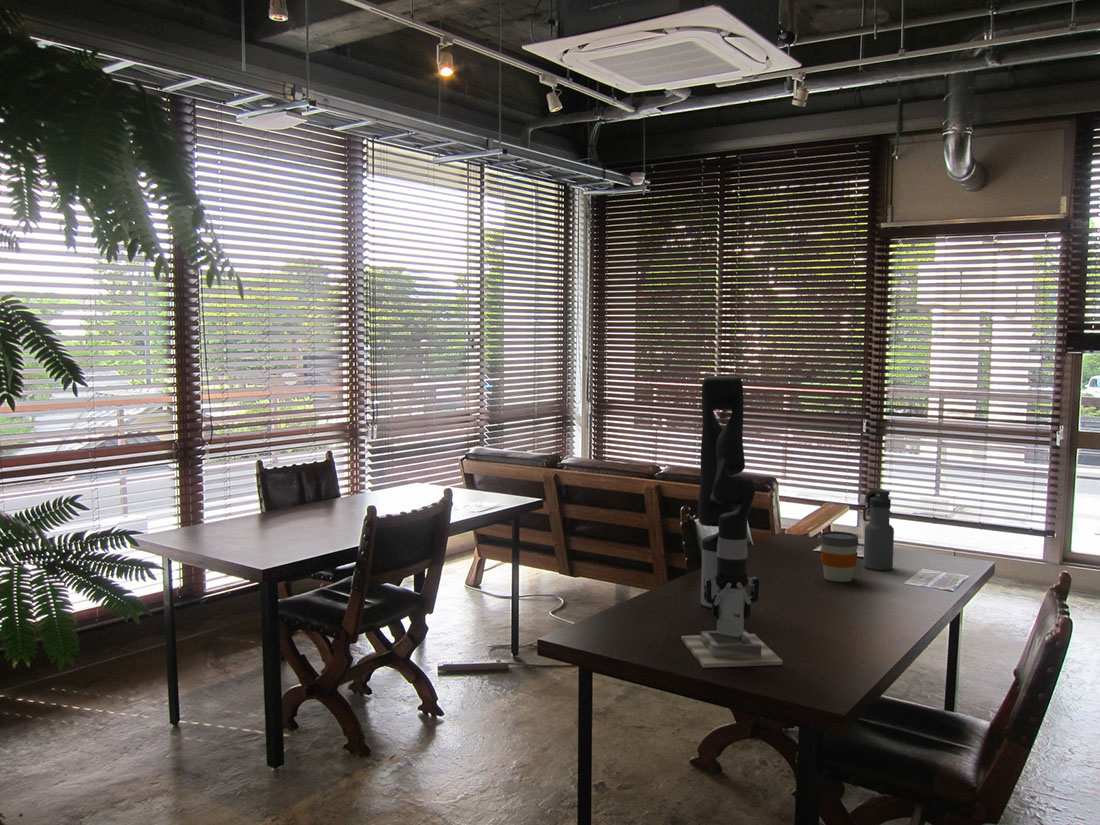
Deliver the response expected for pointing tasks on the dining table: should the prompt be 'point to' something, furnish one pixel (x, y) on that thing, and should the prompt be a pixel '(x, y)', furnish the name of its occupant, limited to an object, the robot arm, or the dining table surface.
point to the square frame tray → (730, 650)
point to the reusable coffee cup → (838, 555)
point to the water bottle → (878, 532)
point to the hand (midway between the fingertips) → (730, 618)
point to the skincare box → (731, 613)
